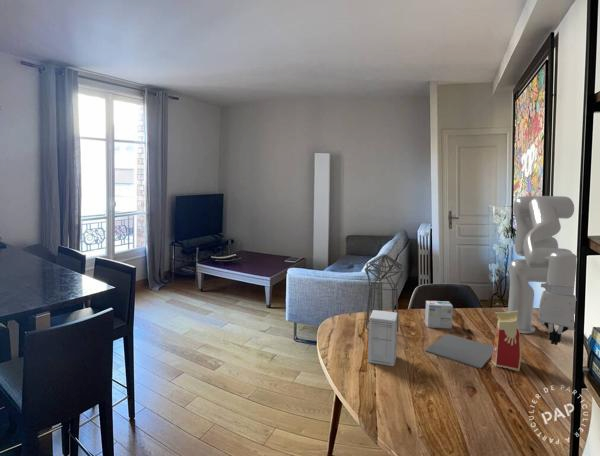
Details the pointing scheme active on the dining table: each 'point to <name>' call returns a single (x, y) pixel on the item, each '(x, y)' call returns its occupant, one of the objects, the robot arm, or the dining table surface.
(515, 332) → the milk carton
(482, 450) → the dining table surface
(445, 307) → the light bulb box
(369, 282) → the geometric lantern
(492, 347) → the mat
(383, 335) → the supplement box
